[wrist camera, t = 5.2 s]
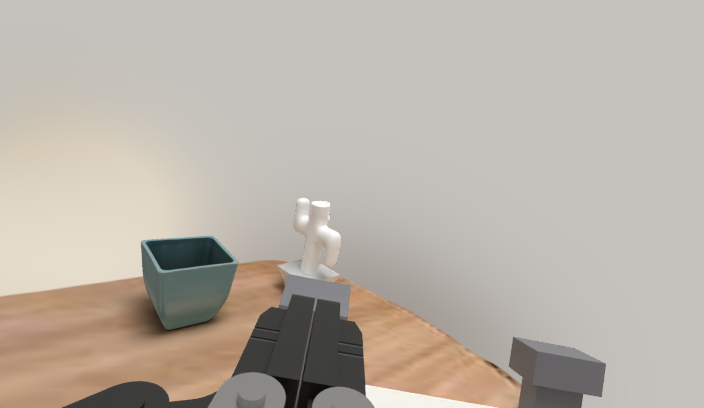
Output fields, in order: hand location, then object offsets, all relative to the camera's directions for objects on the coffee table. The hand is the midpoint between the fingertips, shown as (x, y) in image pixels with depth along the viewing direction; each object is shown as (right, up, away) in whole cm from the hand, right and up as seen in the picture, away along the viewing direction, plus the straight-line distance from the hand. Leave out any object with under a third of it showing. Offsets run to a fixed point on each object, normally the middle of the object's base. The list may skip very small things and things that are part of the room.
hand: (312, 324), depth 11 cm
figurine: (-6, -10, +46) cm, 47 cm away
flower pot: (-20, -11, +33) cm, 40 cm away
